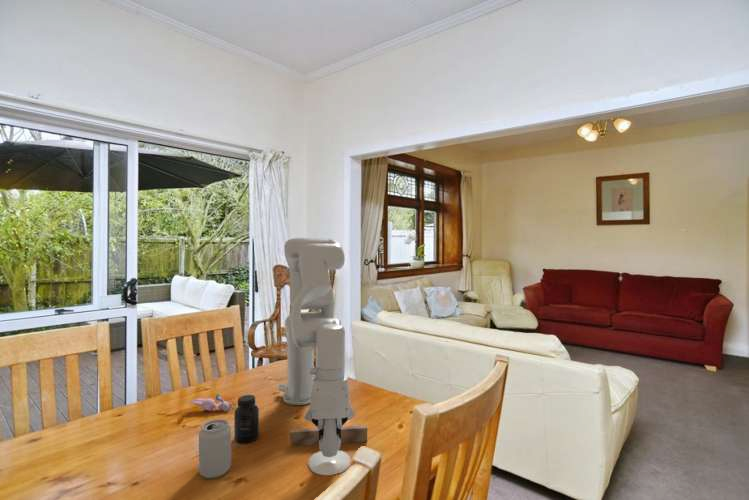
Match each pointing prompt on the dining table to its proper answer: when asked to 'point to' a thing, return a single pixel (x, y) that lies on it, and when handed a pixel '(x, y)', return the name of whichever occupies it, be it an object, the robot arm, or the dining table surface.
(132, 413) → the dining table surface
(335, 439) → the grey tapered upright piece
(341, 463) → the ceramic coaster
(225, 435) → the can
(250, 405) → the supplement bottle
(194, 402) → the rabbit figure
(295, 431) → the walnut wall
